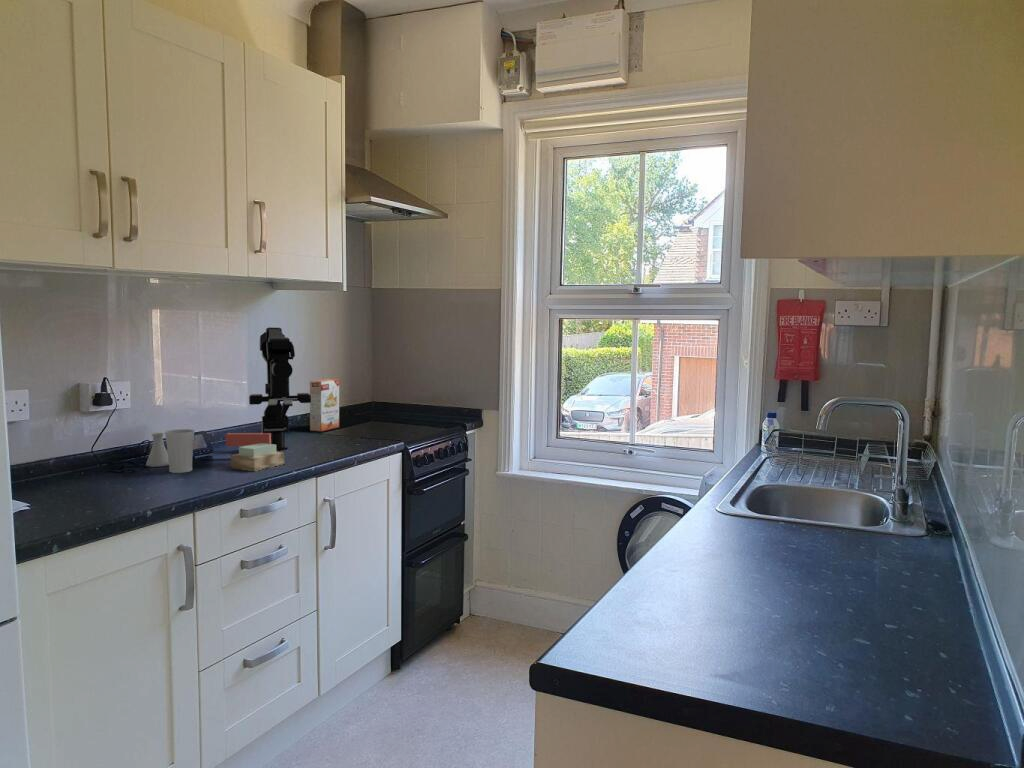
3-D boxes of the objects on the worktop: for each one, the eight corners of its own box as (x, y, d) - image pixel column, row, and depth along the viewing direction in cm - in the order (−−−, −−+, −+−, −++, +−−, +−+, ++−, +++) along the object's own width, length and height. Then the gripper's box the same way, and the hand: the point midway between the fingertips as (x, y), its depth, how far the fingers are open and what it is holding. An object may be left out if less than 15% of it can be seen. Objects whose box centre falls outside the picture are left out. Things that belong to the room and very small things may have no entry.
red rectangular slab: (226, 455, 231) (225, 434, 231) (228, 454, 233) (227, 433, 233) (269, 455, 232) (269, 434, 232) (271, 454, 234) (270, 433, 234)
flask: (176, 463, 224) (175, 432, 223) (163, 467, 217) (162, 435, 216) (154, 462, 224) (153, 431, 224) (140, 467, 217) (139, 435, 216)
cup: (199, 470, 213) (198, 431, 212) (172, 474, 207) (170, 434, 206) (189, 466, 218) (188, 428, 217) (162, 470, 213) (160, 431, 212)
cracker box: (322, 432, 290) (321, 381, 288) (309, 431, 291) (308, 380, 290) (340, 427, 303) (339, 379, 301) (328, 426, 305) (327, 378, 303)
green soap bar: (261, 450, 225) (261, 442, 225) (276, 452, 222) (276, 444, 222) (238, 455, 217) (238, 447, 217) (253, 457, 214) (253, 449, 214)
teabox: (261, 461, 227) (261, 449, 227) (284, 464, 223) (284, 452, 222) (230, 468, 217) (230, 455, 216) (254, 471, 212) (254, 458, 212)
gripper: (307, 374, 237) (308, 420, 238) (248, 375, 230) (249, 423, 232) (310, 377, 227) (311, 425, 228) (248, 378, 220) (250, 427, 221)
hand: (280, 425), depth 228 cm, fingers closed
